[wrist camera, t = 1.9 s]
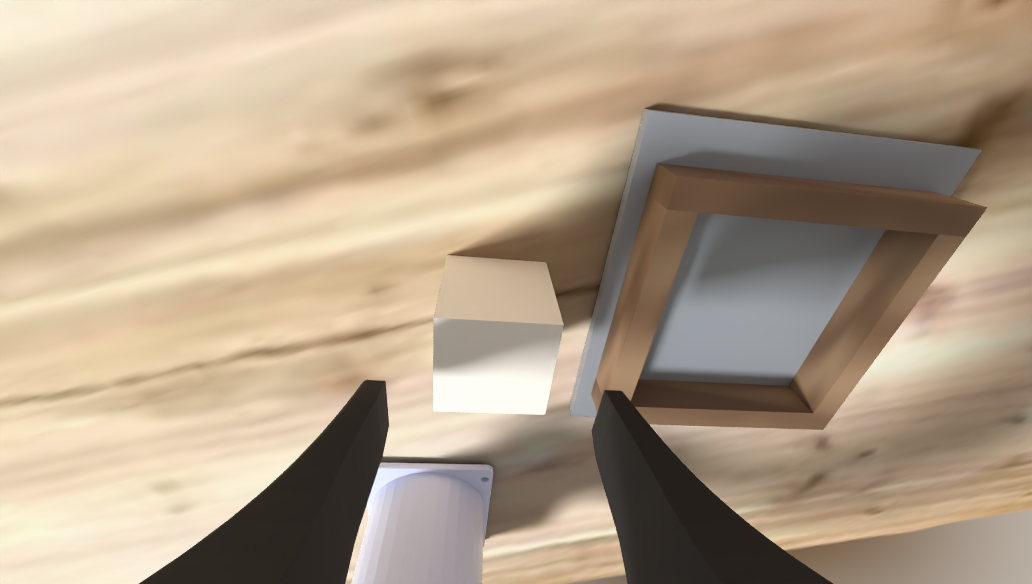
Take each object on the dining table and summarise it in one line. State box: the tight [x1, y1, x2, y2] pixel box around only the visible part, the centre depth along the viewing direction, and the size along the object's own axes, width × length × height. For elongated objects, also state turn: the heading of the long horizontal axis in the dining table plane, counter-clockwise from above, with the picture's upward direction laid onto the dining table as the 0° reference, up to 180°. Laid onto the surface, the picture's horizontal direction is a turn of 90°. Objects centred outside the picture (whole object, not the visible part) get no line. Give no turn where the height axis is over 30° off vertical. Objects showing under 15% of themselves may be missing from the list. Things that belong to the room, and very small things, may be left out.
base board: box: [569, 109, 982, 417], centre depth 19 cm, size 16×14×1 cm
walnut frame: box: [591, 163, 987, 430], centre depth 18 cm, size 12×12×2 cm
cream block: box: [433, 255, 564, 415], centre depth 17 cm, size 4×4×5 cm
